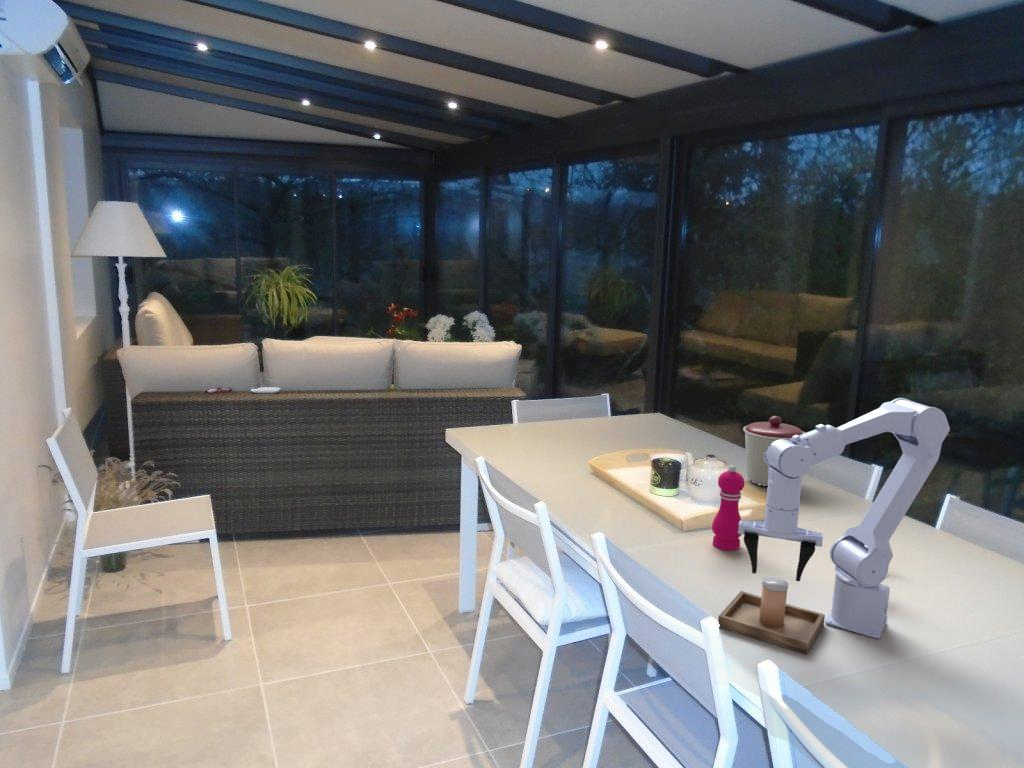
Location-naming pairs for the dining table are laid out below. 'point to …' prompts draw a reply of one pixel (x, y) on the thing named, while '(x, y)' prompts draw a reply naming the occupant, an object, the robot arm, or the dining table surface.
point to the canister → (764, 445)
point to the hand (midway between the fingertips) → (776, 575)
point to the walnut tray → (792, 635)
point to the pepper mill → (728, 511)
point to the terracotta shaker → (773, 601)
